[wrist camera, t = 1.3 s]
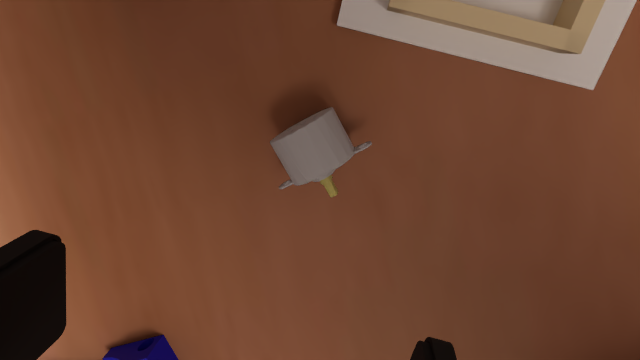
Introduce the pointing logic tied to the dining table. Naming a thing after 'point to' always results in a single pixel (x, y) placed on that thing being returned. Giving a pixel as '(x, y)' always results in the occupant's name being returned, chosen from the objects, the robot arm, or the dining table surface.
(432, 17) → the mounting board
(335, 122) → the electric motor
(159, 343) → the cable clip
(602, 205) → the dining table surface
